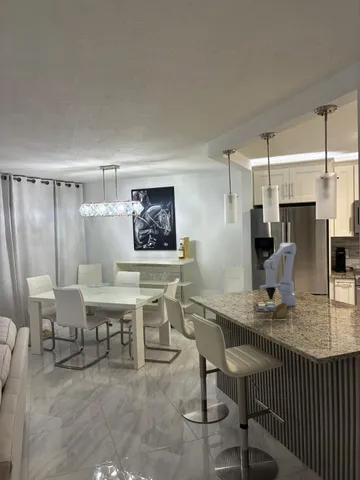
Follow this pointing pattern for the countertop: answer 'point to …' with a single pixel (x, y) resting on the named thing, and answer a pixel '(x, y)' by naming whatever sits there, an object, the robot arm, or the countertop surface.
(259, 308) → the key cream
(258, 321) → the countertop surface
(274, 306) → the dark grey tray
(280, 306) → the rock
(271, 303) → the key sage
